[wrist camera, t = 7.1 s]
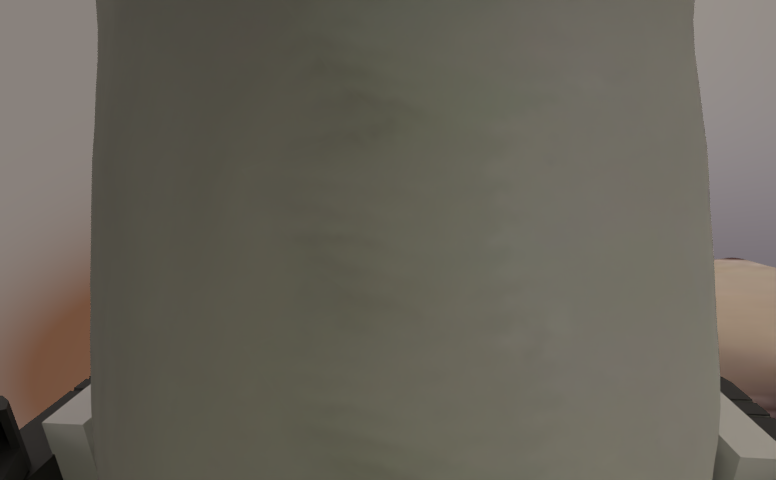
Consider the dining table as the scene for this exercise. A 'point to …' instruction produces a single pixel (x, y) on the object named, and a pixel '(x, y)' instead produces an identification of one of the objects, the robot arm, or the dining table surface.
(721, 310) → the dining table surface
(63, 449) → the robot arm
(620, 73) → the grey green rounded cylinder
